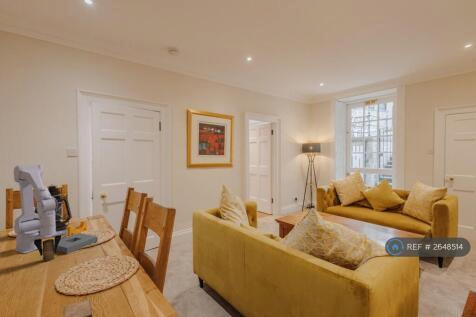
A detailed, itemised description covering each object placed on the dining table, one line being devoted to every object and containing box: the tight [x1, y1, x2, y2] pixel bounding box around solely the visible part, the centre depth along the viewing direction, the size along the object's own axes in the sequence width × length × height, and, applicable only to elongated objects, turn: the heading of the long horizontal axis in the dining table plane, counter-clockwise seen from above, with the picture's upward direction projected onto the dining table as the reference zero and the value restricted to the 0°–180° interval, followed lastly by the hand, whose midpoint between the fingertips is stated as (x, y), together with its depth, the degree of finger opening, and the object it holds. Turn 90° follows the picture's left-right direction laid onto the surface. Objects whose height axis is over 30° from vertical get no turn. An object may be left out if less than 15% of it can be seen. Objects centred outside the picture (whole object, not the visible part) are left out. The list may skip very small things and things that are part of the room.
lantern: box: [33, 185, 73, 235], centre depth 145 cm, size 20×16×30 cm
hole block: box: [54, 232, 99, 255], centre depth 123 cm, size 16×16×3 cm
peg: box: [42, 238, 55, 262], centre depth 106 cm, size 4×4×9 cm
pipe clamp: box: [65, 220, 88, 237], centre depth 140 cm, size 12×4×6 cm, turn 170°
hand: (48, 253), depth 106 cm, fingers open, 4 cm apart
